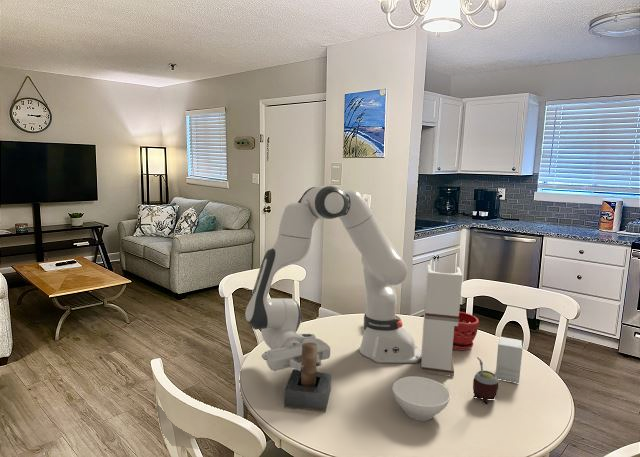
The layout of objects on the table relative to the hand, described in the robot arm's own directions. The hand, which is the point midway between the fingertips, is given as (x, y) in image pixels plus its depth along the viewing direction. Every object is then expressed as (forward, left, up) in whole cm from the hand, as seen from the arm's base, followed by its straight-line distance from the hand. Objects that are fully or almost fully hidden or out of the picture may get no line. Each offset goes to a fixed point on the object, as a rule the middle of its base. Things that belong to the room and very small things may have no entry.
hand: (310, 366), depth 126 cm
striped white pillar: (-40, -30, -11) cm, 51 cm away
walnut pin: (+1, -1, -9) cm, 9 cm away
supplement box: (-63, -27, -11) cm, 69 cm away
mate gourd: (-52, -11, -11) cm, 54 cm away
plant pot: (-51, -50, -11) cm, 72 cm away
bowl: (-32, 0, -11) cm, 34 cm away
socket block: (0, -1, -11) cm, 11 cm away
